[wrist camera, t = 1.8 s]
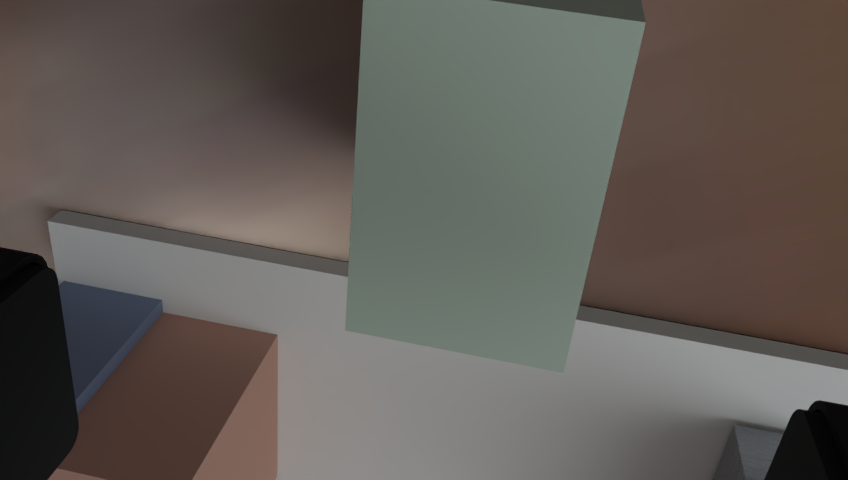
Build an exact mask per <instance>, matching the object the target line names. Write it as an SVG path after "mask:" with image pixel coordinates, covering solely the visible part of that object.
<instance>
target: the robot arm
mask: <svg viewBox="0 0 848 480" xmlns="http://www.w3.org/2000/svg"><path fill="white" fill-rule="evenodd" d="M78 430H79V421H78V414H77V407H76V400H75V394H74V387H73V380H72V373H71V366H70V359H69V353H68V346H67V339H66V332H65V325H64V318H63V312H62V305H61V298H60V291H59V284H58V278H57V275H56V273H55V271H54V270H53V269H51V268H48V266H47V263H46V261H45V260H44V258H43V257H42V256H40V255H38V254H33V253H28V252H22V251H17V250H12V249H6V248H1V247H0V480H48V479H49V477H50V476H51V475H52V474H53V472H54V471H55V470H56V469H57V468H58V466H59V465H60V464H61V463H62V461H63V460H64V459H65V458H66V456H67V455H68V454H69V453H70V451H71V450H72V448H73V446H74V444H75V442H76V439H77V436H78ZM764 480H848V405H843V404H837V403H832V402H827V401H821V400H818V401H815V402H814V403H813V404H812V405H811V406H810V407H809V409H808V410H802V409H797V410H795V411H794V412H793V414H792V416H791V417H790V420H789V422H788V424H787V427H786V429H785V431H784V434H783V436H782V439H781V441H780V443H779V446H778V448H777V450H776V453H775V455H774V458H773V460H772V462H771V465H770V467H769V469H768V472H767V474H766V477H765V479H764Z"/></svg>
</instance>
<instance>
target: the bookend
mask: <svg viewBox="0 0 848 480" xmlns="http://www.w3.org/2000/svg"><path fill="white" fill-rule="evenodd" d="M782 436H783V434H779V433H774V432H769V431H764V430H759V429H754V428H749V427H744V426H739V425H734V426H733V428H732V431H731V433H730V436H729V438H728V441H727V443H726V446H725V449H724V451H723V454H722V456H721V459H720V461H719V464H718V467H717V469H716V472H715V474H714V477H713V479H712V480H764V479H765V477H766V474H767V472H768V469H769V467H770V465H771V462H772V460H773V458H774V455H775V453H776V450H777V448H778V446H779V443H780V441H781V439H782Z"/></svg>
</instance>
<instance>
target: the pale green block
mask: <svg viewBox="0 0 848 480" xmlns="http://www.w3.org/2000/svg"><path fill="white" fill-rule="evenodd" d="M645 24H646V21H645V16H644V12H643V7H642V2H641V0H363V12H362V31H361V49H360V67H359V85H358V103H357V122H356V140H355V158H354V176H353V194H352V213H351V231H350V249H349V267H348V285H347V304H346V322H345V331H350V332H356V333H361V334H366V335H371V336H376V337H381V338H386V339H392V340H397V341H402V342H407V343H412V344H417V345H422V346H428V347H433V348H438V349H443V350H448V351H453V352H458V353H464V354H469V355H474V356H479V357H484V358H489V359H494V360H500V361H505V362H510V363H515V364H520V365H525V366H530V367H536V368H541V369H546V370H551V371H556V372H561V373H563V372H564V368H565V364H566V360H567V355H568V351H569V347H570V343H571V338H572V334H573V330H574V326H575V321H576V317H577V313H578V309H579V304H580V300H581V296H582V292H583V287H584V283H585V279H586V275H587V270H588V266H589V262H590V258H591V253H592V249H593V245H594V241H595V236H596V232H597V228H598V224H599V219H600V215H601V211H602V207H603V202H604V198H605V194H606V189H607V185H608V181H609V177H610V172H611V168H612V164H613V160H614V155H615V151H616V147H617V143H618V138H619V134H620V130H621V126H622V121H623V117H624V113H625V109H626V104H627V100H628V96H629V92H630V87H631V83H632V79H633V75H634V70H635V66H636V62H637V58H638V53H639V49H640V45H641V41H642V36H643V32H644V28H645Z"/></svg>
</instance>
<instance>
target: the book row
mask: <svg viewBox="0 0 848 480" xmlns="http://www.w3.org/2000/svg"><path fill="white" fill-rule="evenodd" d="M59 291H60V298H61V305H62V312H63V318H64V325H65V332H66V339H67V346H68V353H69V359H70V366H71V373H72V380H73V387H74V394H75V400H76V407H77V414H78V421H79V430H78V436H77V439H76V442H75V444H74V446H73V448H72V450H71V451H70V453H69V454H68V455H67V456H66V458H65V459H64V460H63V461H62V463H61V464H60V465H59V466H58V468H57V469H56V470H55V471H54V472H53V474H52V475H51V476H50V477H49V479H48V480H276V478H277V471H278V335H276V334H271V333H266V332H261V331H256V330H251V329H246V328H241V327H235V326H230V325H225V324H220V323H215V322H210V321H205V320H200V319H195V318H190V317H185V316H180V315H175V314H169V313H164V312H163V306H162V300H160V299H155V298H150V297H144V296H139V295H134V294H129V293H124V292H119V291H114V290H109V289H103V288H98V287H93V286H88V285H83V284H78V283H73V282H68V281H63V282H62V283H61V284H60V285H59Z"/></svg>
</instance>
